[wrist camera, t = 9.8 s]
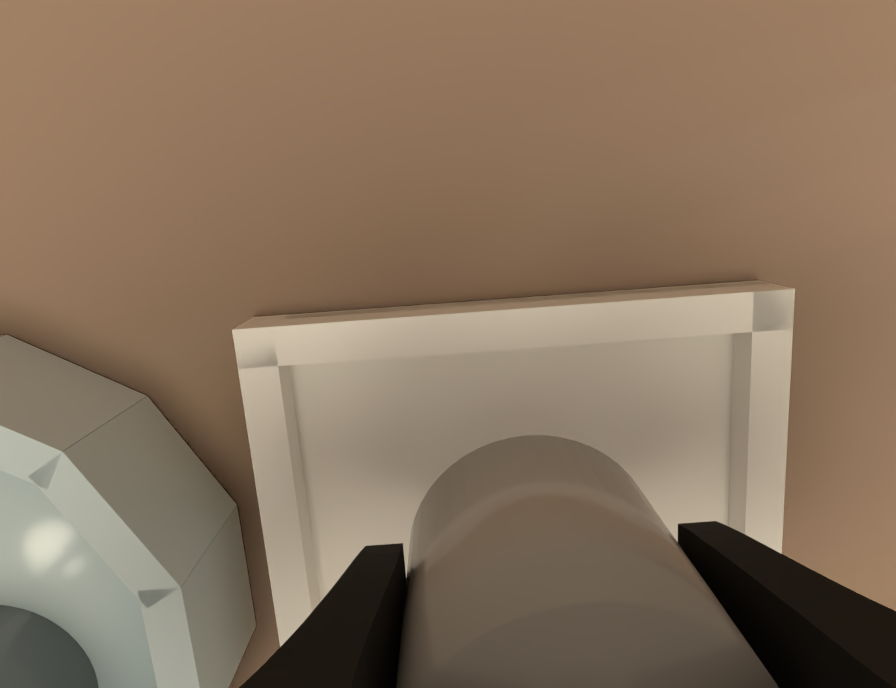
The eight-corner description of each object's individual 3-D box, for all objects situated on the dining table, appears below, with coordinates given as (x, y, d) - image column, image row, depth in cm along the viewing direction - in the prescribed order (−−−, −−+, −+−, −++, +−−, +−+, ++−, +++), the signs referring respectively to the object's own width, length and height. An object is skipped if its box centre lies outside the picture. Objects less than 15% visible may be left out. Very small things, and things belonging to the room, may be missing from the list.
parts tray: (738, 834, 17) (764, 890, 15) (331, 861, 17) (321, 919, 16) (759, 280, 14) (794, 288, 12) (253, 316, 14) (231, 329, 12)
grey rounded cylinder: (655, 649, 12) (790, 929, 7) (419, 665, 12) (406, 954, 7) (655, 425, 11) (811, 586, 6) (398, 444, 11) (367, 618, 6)
